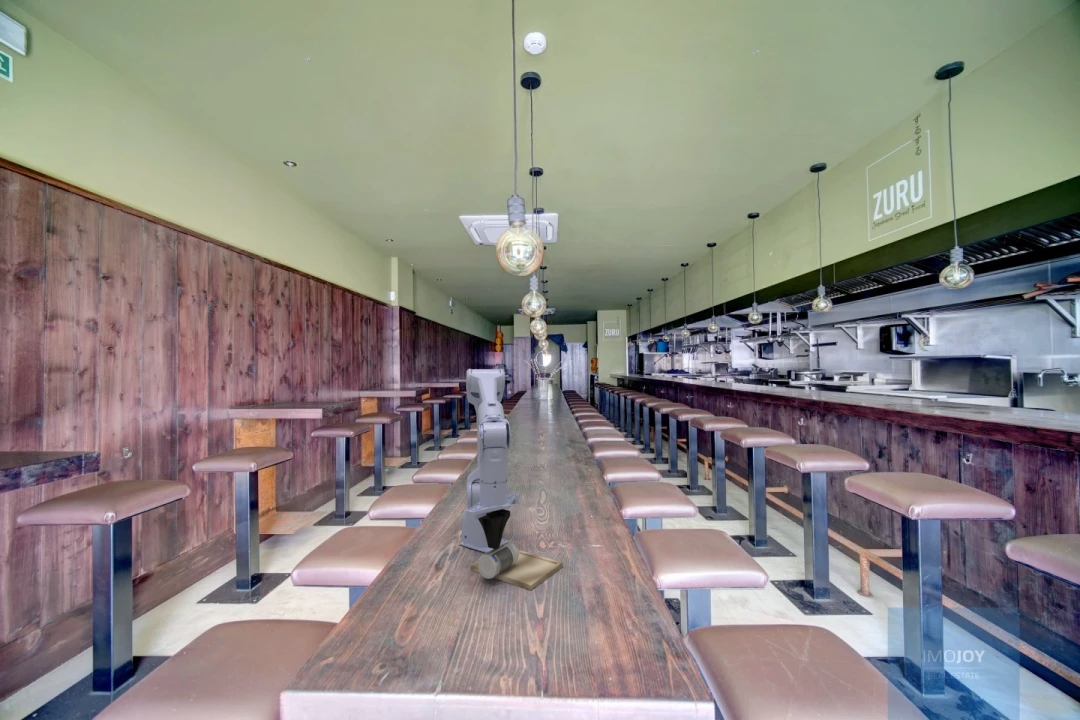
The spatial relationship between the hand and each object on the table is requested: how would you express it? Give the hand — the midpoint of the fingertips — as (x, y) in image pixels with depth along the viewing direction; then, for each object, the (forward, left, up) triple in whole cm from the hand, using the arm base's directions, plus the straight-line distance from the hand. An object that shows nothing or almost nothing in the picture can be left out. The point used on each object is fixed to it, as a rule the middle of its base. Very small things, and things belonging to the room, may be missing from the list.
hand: (493, 547), depth 84 cm
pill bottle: (0, -3, -3) cm, 4 cm away
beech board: (+1, +6, -6) cm, 9 cm away
